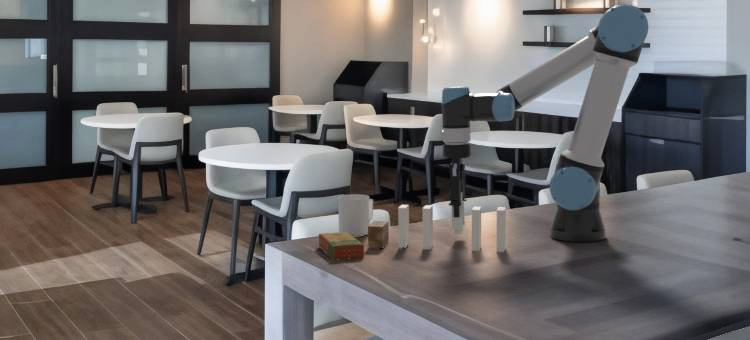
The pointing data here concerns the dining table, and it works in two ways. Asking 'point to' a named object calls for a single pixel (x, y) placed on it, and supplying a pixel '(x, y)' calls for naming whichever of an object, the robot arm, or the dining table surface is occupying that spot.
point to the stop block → (378, 234)
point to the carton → (341, 245)
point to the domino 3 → (459, 231)
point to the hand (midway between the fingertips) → (458, 226)
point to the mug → (355, 214)
